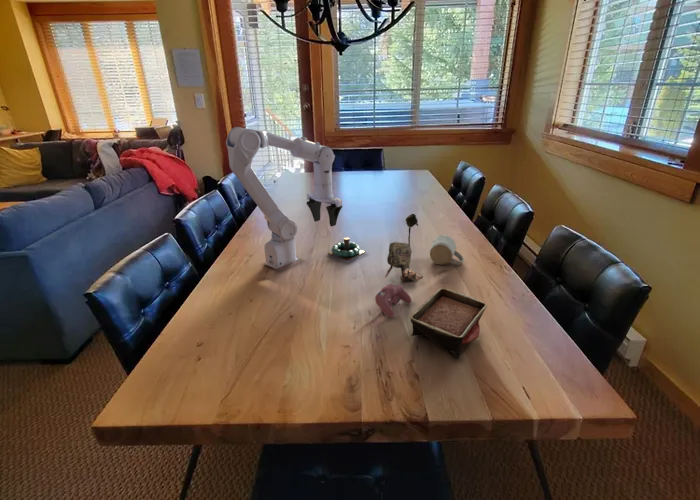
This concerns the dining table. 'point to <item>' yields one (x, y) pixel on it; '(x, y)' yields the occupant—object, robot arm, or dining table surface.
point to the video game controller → (391, 298)
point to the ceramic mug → (444, 251)
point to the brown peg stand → (347, 248)
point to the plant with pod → (403, 255)
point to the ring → (345, 253)
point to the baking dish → (449, 320)
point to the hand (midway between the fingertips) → (325, 223)
